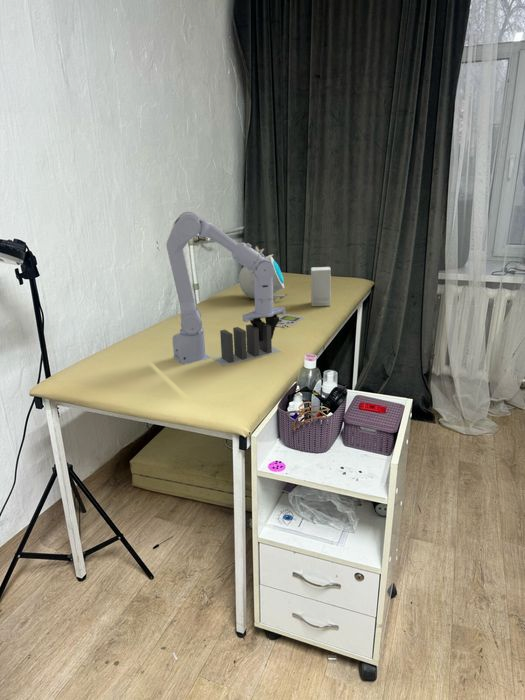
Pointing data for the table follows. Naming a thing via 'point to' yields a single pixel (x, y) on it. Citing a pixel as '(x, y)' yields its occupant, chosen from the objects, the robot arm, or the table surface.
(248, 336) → the domino
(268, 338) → the domino
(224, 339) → the domino
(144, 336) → the table surface
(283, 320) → the handheld gaming device
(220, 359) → the mat
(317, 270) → the skincare box
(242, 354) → the domino
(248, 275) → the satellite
